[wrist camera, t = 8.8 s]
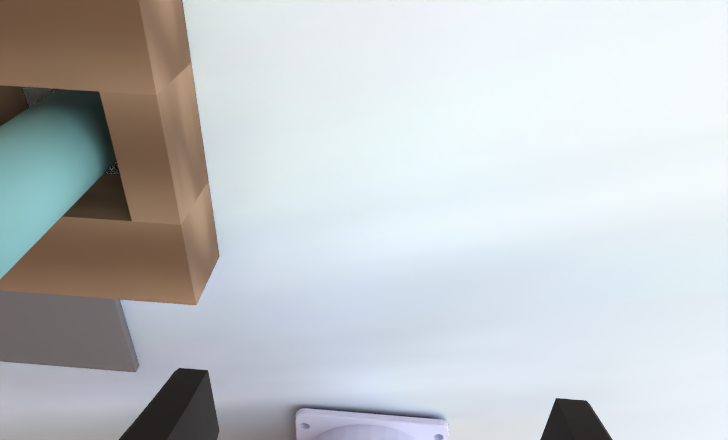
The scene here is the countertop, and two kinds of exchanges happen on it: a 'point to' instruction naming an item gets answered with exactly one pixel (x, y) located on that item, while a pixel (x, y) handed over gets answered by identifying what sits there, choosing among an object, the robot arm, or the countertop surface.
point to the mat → (65, 331)
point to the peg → (48, 166)
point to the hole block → (118, 149)
